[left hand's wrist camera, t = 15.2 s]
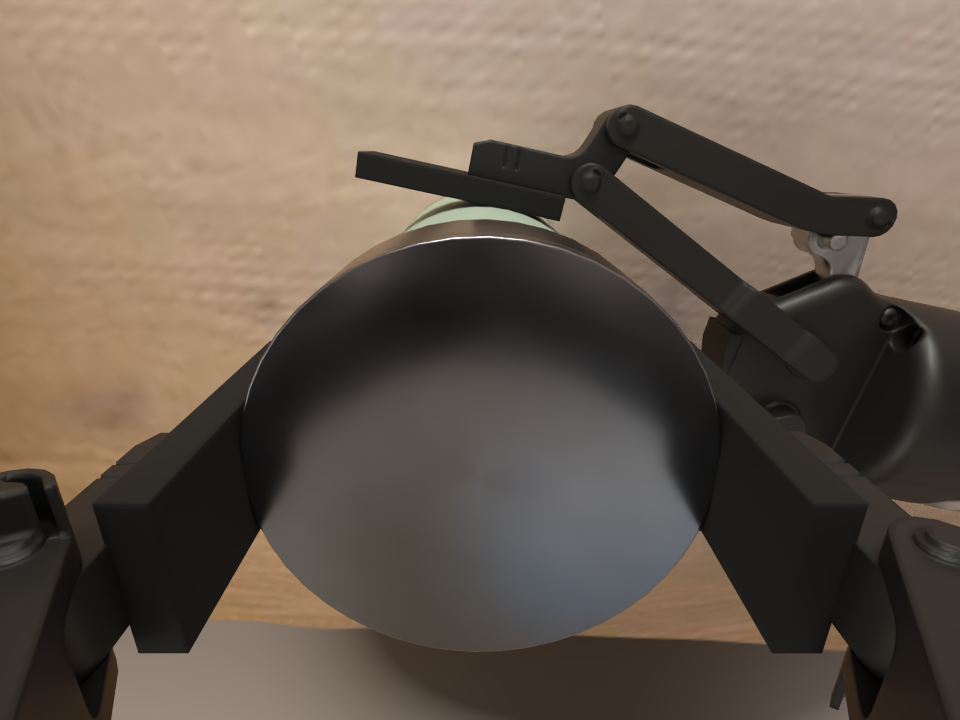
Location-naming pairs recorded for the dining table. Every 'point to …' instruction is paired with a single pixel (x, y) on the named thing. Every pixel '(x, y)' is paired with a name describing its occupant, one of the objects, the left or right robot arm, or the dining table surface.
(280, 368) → the lid
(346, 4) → the dining table surface
